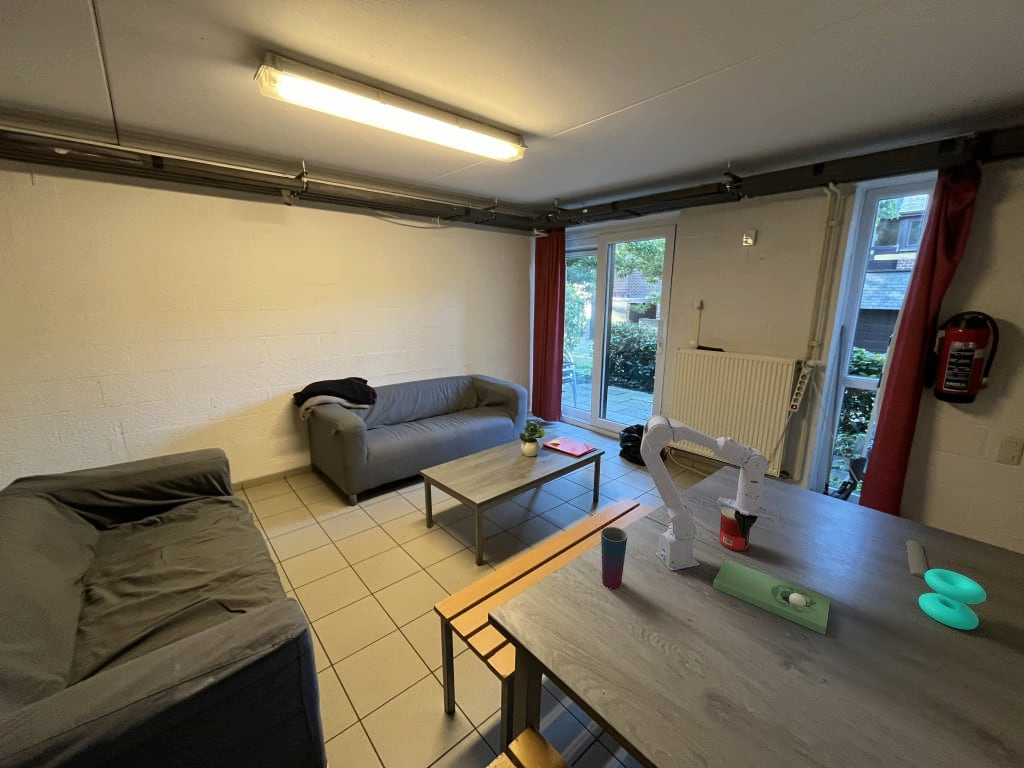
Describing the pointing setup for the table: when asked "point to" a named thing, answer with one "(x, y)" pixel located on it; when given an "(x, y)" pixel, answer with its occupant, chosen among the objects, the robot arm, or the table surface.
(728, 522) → the canned food
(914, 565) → the half round rod
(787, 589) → the green
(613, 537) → the cup
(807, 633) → the table surface
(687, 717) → the table surface
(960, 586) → the donuts
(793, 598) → the ball
